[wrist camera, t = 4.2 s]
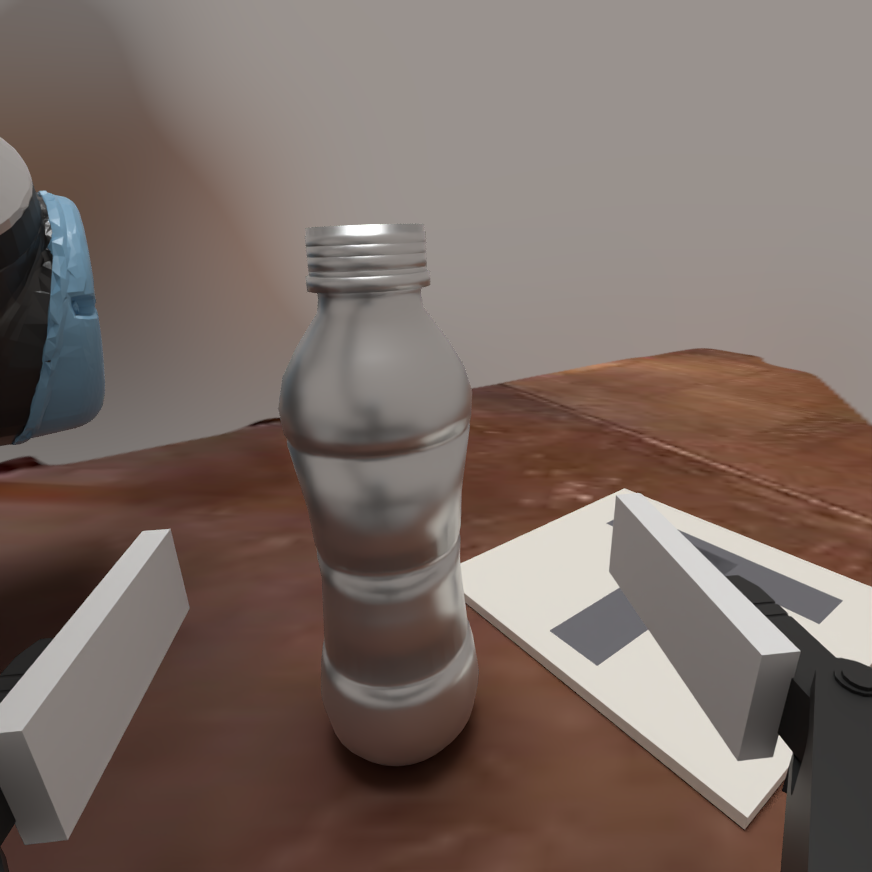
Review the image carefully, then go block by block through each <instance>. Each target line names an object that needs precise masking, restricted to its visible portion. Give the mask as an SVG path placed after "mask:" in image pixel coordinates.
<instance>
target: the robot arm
mask: <svg viewBox="0 0 872 872" xmlns="http://www.w3.org/2000/svg"><path fill="white" fill-rule="evenodd" d="M95 303H96V299H95V294H94V281H93V274H92V268H91V262H90V256H89V251H88V246H87V241H86V237H85V232H84V227H83V223H82V220H81V217H80V213H79V211H78V209H77V207H76V205H75V204H74V203H73V202H72V201H71V200H69V199H68V198H65V197H61V196H56V195H53V194H51V193H46V191H39V192H37V193H36V192H35V189H34V186H33V183H32V179H31V176H30V173H29V170H28V168H27V166H26V164H25V162H24V161H23V160H22V158H21V156H20V155H19V154H18V152H17V151H16V150H15V149H14V148H13V147H12V146H11V145H10V144H8V143H7V142H6V141H5V140H3V139H2V138H1V137H0V446H2V445H9V444H13V445H16V444H21V443H24V442H26V441H28V440H29V439H30V438H34V437H39V436H43V435H47V434H52V433H56V432H60V431H65V430H69V429H73V428H77V427H80V426H83V425H84V424H87V423H88V422H90V421H91V420H93V419H94V418H95V417H96V415H97V414H98V413H99V411H100V410H101V408H102V405H103V401H104V396H105V395H104V394H105V379H104V378H105V376H104V360H103V350H102V340H101V332H100V325H99V318H98V314H97V310H96V308H95ZM609 572H610V574H611V575H612V577H613V578H614V580H615V581H616V583H617V584H618V586H619V587H620V589H621V590H622V592H623V593H624V595H625V596H626V598H627V599H628V600H629V602H630V603H631V605H632V606H633V608H634V609H635V611H636V612H637V614H638V615H639V617H640V618H641V620H642V621H643V623H644V624H645V626H646V627H647V628H648V630H649V631H650V633H651V634H652V636H653V637H654V639H655V640H656V642H657V643H658V645H659V646H660V648H661V649H662V651H663V652H664V654H665V655H666V656H667V658H668V659H669V661H670V662H671V664H672V665H673V667H674V668H675V670H676V671H677V673H678V674H679V676H680V677H681V679H682V680H683V682H684V683H685V684H686V686H687V687H688V689H689V690H690V692H691V693H692V695H693V696H694V698H695V699H696V701H697V702H698V704H699V705H700V707H701V708H702V709H703V711H704V712H705V714H706V715H707V717H708V718H709V720H710V721H711V723H712V724H713V726H714V727H715V729H716V730H717V732H718V733H719V735H720V736H721V737H722V739H723V740H724V742H725V743H726V745H727V746H728V748H729V749H730V751H731V752H732V754H733V755H734V757H735V758H736V760H737V761H744V760H753V759H761V758H770V757H773V755H774V751H775V748H776V744H777V740H778V736H780V737H781V738H782V739H783V741H784V742H785V743H786V744H787V746H788V747H789V748H790V749H791V751H792V752H793V753H792V757H791V760H790V764H789V767H788V771H787V774H786V778H785V782H784V785H783V789H782V791H783V792H785V793H787V799H786V811H785V824H784V836H783V848H782V860H781V872H872V667H869V666H867V665H865V664H862V663H860V662H857V661H854V660H849V659H845V658H836V657H835V656H834V655H833V654H832V653H831V652H830V651H828V650H827V649H826V648H825V647H824V646H823V645H822V644H821V643H820V642H819V641H818V640H817V639H815V638H814V637H813V636H812V635H811V634H810V633H809V632H808V631H807V630H806V629H805V628H804V627H802V626H801V625H800V624H799V623H798V622H797V621H796V620H795V619H794V618H793V617H792V616H788V613H787V612H786V611H785V610H784V609H783V608H782V607H781V606H780V605H779V604H775V601H774V600H773V599H772V598H771V597H770V596H769V595H768V594H767V593H766V592H765V591H764V590H762V589H761V588H760V587H759V586H757V585H755V584H754V583H752V582H750V581H748V580H746V579H745V578H743V577H741V576H739V575H732V576H724V575H723V574H722V573H721V572H720V571H719V570H718V569H717V568H716V567H715V566H714V565H713V564H712V563H711V562H710V561H709V560H708V559H707V558H706V557H705V556H704V555H703V554H702V553H701V552H700V551H699V550H698V549H697V548H696V547H695V546H694V545H693V544H692V543H691V542H690V541H689V540H688V539H686V538H685V537H684V536H683V535H682V534H681V533H680V532H679V531H678V530H677V529H676V528H675V527H674V526H673V525H672V524H671V523H670V522H669V521H668V520H667V519H666V518H665V517H664V516H663V515H662V514H661V513H660V512H659V511H658V510H657V509H656V508H655V507H654V506H653V505H652V504H651V503H650V502H649V501H648V500H647V499H646V498H645V497H644V496H643V495H642V494H641V493H633V494H620V495H616V500H615V511H614V522H613V532H612V543H611V554H610V564H609ZM189 609H190V607H189V603H188V599H187V595H186V591H185V587H184V583H183V579H182V575H181V570H180V566H179V562H178V558H177V554H176V550H175V546H174V542H173V538H172V533H171V529H163V530H150V531H142V532H141V534H140V535H139V536H138V537H137V538H136V540H135V541H134V542H133V543H132V545H131V546H130V547H129V548H128V549H127V551H126V552H125V553H124V554H123V555H122V557H121V558H120V559H119V560H118V561H117V563H116V564H115V565H114V566H113V568H112V569H111V570H110V571H109V572H108V574H107V575H106V576H105V577H104V578H103V580H102V581H101V582H100V583H99V584H98V586H97V587H96V588H95V589H94V591H93V592H92V593H91V594H90V595H89V597H88V598H87V599H86V600H85V601H84V603H83V604H82V605H81V606H80V607H79V609H78V610H77V611H76V612H75V613H74V615H73V616H72V617H71V618H70V620H69V621H68V622H67V623H66V624H65V626H64V627H63V628H62V629H61V630H60V632H59V633H58V634H57V635H56V636H55V638H47V639H40V640H38V641H37V642H36V643H34V644H33V645H31V646H30V647H29V648H27V649H26V650H24V651H23V652H22V653H20V654H19V655H18V656H16V657H15V658H14V660H13V661H12V662H11V663H10V664H9V665H8V666H7V667H6V669H5V670H4V671H3V672H2V673H1V674H0V846H1V844H2V843H3V841H4V840H5V838H6V837H7V835H8V833H9V832H10V830H11V829H12V827H13V825H14V824H15V825H16V827H17V830H18V832H19V834H20V836H21V838H22V840H23V842H24V845H28V844H37V843H45V842H54V841H62V840H68V839H69V837H70V835H71V833H72V831H73V829H74V827H75V825H76V823H77V822H78V820H79V818H80V816H81V814H82V812H83V810H84V808H85V806H86V804H87V803H88V801H89V799H90V797H91V795H92V793H93V791H94V789H95V787H96V785H97V783H98V782H99V780H100V778H101V776H102V774H103V772H104V770H105V768H106V766H107V764H108V763H109V761H110V759H111V757H112V755H113V753H114V751H115V749H116V747H117V745H118V744H119V742H120V740H121V738H122V736H123V734H124V732H125V730H126V728H127V726H128V725H129V723H130V721H131V719H132V717H133V715H134V713H135V711H136V709H137V707H138V706H139V704H140V702H141V700H142V698H143V696H144V694H145V692H146V690H147V688H148V686H149V685H150V683H151V681H152V679H153V677H154V675H155V673H156V671H157V669H158V667H159V666H160V664H161V662H162V660H163V658H164V656H165V654H166V652H167V650H168V648H169V647H170V645H171V643H172V641H173V639H174V637H175V635H176V633H177V631H178V629H179V628H180V626H181V624H182V622H183V620H184V618H185V616H186V614H187V612H188V610H189ZM0 872H9V869H8V865H7V861H6V857H5V855H4V853H3V851H2V849H1V847H0Z"/></svg>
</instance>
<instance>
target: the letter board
mask: <svg viewBox="0 0 872 872" xmlns="http://www.w3.org/2000/svg"><path fill="white" fill-rule="evenodd" d="M633 493H635V492H632V491H630V490H627V489H625V488H624V489H622V490H620V491H618V492H616V493H614V494H611V495H609V496H607V497H605V498H603V499H600V500H598V501H596V502H594V503H592V504H590V505H587V506H585V507H583V508H581V509H579V510H576V511H574V512H572V513H570V514H568V515H566V516H563V517H561V518H559V519H557V520H555V521H552V522H550V523H548V524H546V525H544V526H542V527H539V528H537V529H535V530H533V531H531V532H528V533H526V534H524V535H522V536H520V537H518V538H515V539H513V540H511V541H509V542H507V543H504V544H502V545H500V546H498V547H496V548H494V549H491V550H489V551H487V552H485V553H483V554H480V555H478V556H476V557H474V558H472V559H470V560H467V561H465V562H463V563H461V564H460V566H461V574H462V582H463V590H464V598H465V603H467V604H468V605H469V606H470V607H472V608H473V609H474V610H475V611H476V612H478V613H479V614H480V615H481V616H483V617H484V618H485V619H486V620H488V621H489V622H490V623H491V624H492V625H494V626H495V627H496V628H497V629H499V630H500V631H501V632H502V633H503V634H505V635H506V636H507V637H508V638H510V639H511V640H512V641H513V642H515V643H516V644H517V645H518V646H519V647H521V648H522V649H523V650H524V651H526V652H527V653H528V654H529V655H531V656H532V657H533V658H534V659H535V660H537V661H538V662H539V663H540V664H542V665H543V666H544V667H545V668H546V669H548V670H549V671H550V672H551V673H553V674H554V675H555V676H556V677H558V678H559V679H560V680H561V681H562V682H564V683H565V684H566V685H567V686H569V687H570V688H571V689H572V690H574V691H575V692H576V693H577V694H578V695H580V696H581V697H582V698H583V699H585V700H586V701H587V702H588V703H589V704H591V705H592V706H593V707H594V708H596V709H597V710H598V711H599V712H601V713H602V714H603V715H604V716H605V717H607V718H608V719H609V720H610V721H612V722H613V723H614V724H615V725H617V726H618V727H619V728H620V729H621V730H623V731H624V732H625V733H626V734H628V735H629V736H630V737H631V738H632V739H634V740H635V741H636V742H637V743H639V744H640V745H641V746H642V747H644V748H645V749H646V750H647V751H648V752H650V753H651V754H652V755H653V756H655V757H656V758H657V759H658V760H660V761H661V762H662V763H663V764H664V765H666V766H667V767H668V768H669V769H671V770H672V771H673V772H674V773H676V774H677V775H678V776H679V777H680V778H682V779H683V780H684V781H685V782H687V783H688V784H689V785H690V786H691V787H693V788H694V789H695V790H696V791H698V792H699V793H700V794H701V795H703V796H704V797H705V798H706V799H707V800H709V801H710V802H711V803H712V804H714V805H715V806H716V807H717V808H719V809H720V810H721V811H722V812H723V813H725V814H726V815H727V816H728V817H730V818H731V819H732V820H733V821H734V822H736V823H737V824H738V825H739V826H741V827H742V828H743V829H744V830H745V829H746V827H747V826H748V825H749V824H750V822H751V821H752V820H753V818H754V817H755V816H756V815H757V813H758V812H759V811H760V810H761V808H762V807H763V806H764V805H765V803H766V802H767V801H768V800H769V798H770V797H771V796H772V795H773V793H774V792H775V791H776V789H777V788H778V787H779V786H780V784H781V783H782V782H783V781H784V779H785V778H786V774H787V771H788V767H789V764H790V760H791V757H792V753H793V752H792V751H791V749H790V748H789V747H788V746H787V744H786V743H785V742H784V741H783V739H782V738H781V737H780V736H778V740H777V744H776V748H775V751H774V755H773V757H770V758H761V759H753V760H744V761H737V760H736V758H735V757H734V755H733V754H732V752H731V751H730V749H729V748H728V746H727V745H726V743H725V742H724V740H723V739H722V737H721V736H720V735H719V733H718V732H717V730H716V729H715V727H714V726H713V724H712V723H711V721H710V720H709V718H708V717H707V715H706V714H705V712H704V711H703V709H702V708H701V707H700V705H699V704H698V702H697V701H696V699H695V698H694V696H693V695H692V693H691V692H690V690H689V689H688V687H687V686H686V684H685V683H684V682H683V680H682V679H681V677H680V676H679V674H678V673H677V671H676V670H675V668H674V667H673V665H672V664H671V662H670V661H669V659H668V658H667V656H666V655H665V654H664V652H663V651H662V649H661V648H660V646H659V645H658V643H657V642H656V640H655V639H654V637H653V636H652V634H651V633H650V631H649V630H648V628H647V627H646V626H645V624H644V623H643V621H642V620H641V618H640V617H639V615H638V614H637V612H636V611H635V609H634V608H633V606H632V605H631V603H630V602H629V600H628V599H627V598H626V596H625V595H624V593H623V592H622V590H621V589H620V587H619V586H618V584H617V583H616V581H615V580H614V578H613V577H612V575H611V574H610V572H609V564H610V554H611V543H612V532H613V522H614V511H615V500H616V495H620V494H633ZM644 497H645V496H644ZM645 498H646V499H647V500H648V501H649V502H650V503H651V504H652V505H653V506H654V507H655V508H656V509H657V510H658V511H659V512H660V513H661V514H662V515H663V516H664V517H665V518H666V519H667V520H668V521H669V522H670V523H671V524H672V525H673V526H674V527H675V528H676V529H677V530H678V531H679V532H680V533H681V534H682V535H683V536H684V537H685V538H686V539H688V540H689V541H690V542H691V543H692V544H693V545H694V546H695V547H696V548H697V549H698V550H699V551H700V552H701V553H702V554H703V555H704V556H705V557H706V558H707V559H708V560H709V561H710V562H711V563H712V564H713V565H714V566H715V567H716V568H717V569H718V570H719V571H720V572H721V573H722V574H723V575H724V576H732V575H739V576H741V577H743V578H745V579H746V580H748V581H750V582H752V583H754V584H755V585H757V586H759V587H760V588H761V589H762V590H764V591H765V592H766V593H767V594H768V595H769V596H770V597H771V598H772V599H773V600H774V601H775V604H779V605H780V606H781V607H782V608H783V609H784V610H785V611H786V612H787V613H788V616H792V617H793V618H794V619H795V620H796V621H797V622H798V623H799V624H800V625H801V626H802V627H804V628H805V629H806V630H807V631H808V632H809V633H810V634H811V635H812V636H813V637H814V638H815V639H817V640H818V641H819V642H820V643H821V644H822V645H823V646H824V647H825V648H826V649H827V650H828V651H830V652H831V653H832V654H833V655H834V656H835V657H836V658H845V659H849V660H854V661H857V662H860V663H862V664H865V665H867V666H869V667H872V587H870V586H867V585H865V584H862V583H860V582H857V581H855V580H852V579H850V578H847V577H845V576H842V575H840V574H837V573H835V572H832V571H830V570H827V569H825V568H822V567H820V566H817V565H815V564H812V563H810V562H807V561H805V560H802V559H800V558H797V557H795V556H792V555H790V554H787V553H785V552H782V551H780V550H777V549H775V548H772V547H770V546H767V545H765V544H762V543H760V542H757V541H755V540H752V539H750V538H747V537H745V536H742V535H740V534H737V533H735V532H732V531H730V530H727V529H725V528H722V527H720V526H717V525H715V524H712V523H710V522H707V521H705V520H702V519H700V518H697V517H695V516H692V515H690V514H687V513H685V512H682V511H680V510H677V509H675V508H672V507H670V506H667V505H665V504H662V503H660V502H657V501H655V500H652V499H650V498H647V497H645Z"/></svg>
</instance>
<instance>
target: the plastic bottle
mask: <svg viewBox="0 0 872 872" xmlns="http://www.w3.org/2000/svg"><path fill="white" fill-rule="evenodd" d="M305 230H306V236H305V242H306V252H307V261H308V271H309V275H308V276H306V285H307V291H308V292H312V293H317V294H318V308H317V314H316V316H315V317H314V319H313V320H312V322H311V324H310V325H309V327H308V329H307V330H306V332H305V334H304V335H303V337H302V339H301V340H300V342H299V344H298V346H297V347H296V349H295V351H294V354H293V356H292V358H291V360H290V362H289V364H288V366H287V369H286V371H285V373H284V375H283V378H282V385H281V391H280V398H279V407H278V410H279V415H280V419H281V423H282V428H283V432H284V435H285V437H286V438H287V445H288V448H289V451H290V454H291V458H292V461H293V464H294V467H295V470H296V473H297V477H298V480H299V483H300V486H301V489H302V492H303V496H304V499H305V502H306V505H307V508H308V513H309V518H310V523H311V527H312V532H313V537H314V542H315V546H316V548H317V556H318V562H319V567H320V572H321V576H322V595H323V617H324V643H323V650H322V658H321V695H322V701H323V704H324V707H325V710H326V713H327V715H328V717H329V720H330V722H331V725H332V727H333V730H334V732H335V734H336V736H337V737H338V738H339V740H340V741H341V743H342V744H343V745H344V746H345V747H346V748H348V749H349V750H350V751H351V752H352V753H354V754H356V755H358V756H360V757H362V758H364V759H366V760H368V761H371V762H373V763H377V764H381V765H385V766H405V765H412V764H415V763H418V762H422V761H424V760H426V759H428V758H430V757H432V756H434V755H436V754H437V753H439V752H440V751H441V750H442V749H444V748H445V747H446V746H448V745H449V744H450V743H451V742H452V741H453V740H454V739H455V738H456V737H457V736H458V735H459V734H460V732H461V731H462V730H463V728H464V727H465V725H466V723H467V722H468V720H469V718H470V715H471V712H472V709H473V706H474V700H475V695H476V690H477V685H478V676H479V668H478V662H477V656H476V651H475V645H474V639H473V634H472V631H471V628H470V624H469V621H468V619H467V614H466V606H465V598H464V590H463V582H462V574H461V566H460V534H459V532H460V527H461V494H462V483H463V475H464V467H465V459H466V451H467V443H468V435H469V427H470V425H469V422H470V419H471V404H472V390H471V386H470V383H469V380H468V377H467V374H466V370H465V367H464V365H463V363H462V361H461V359H460V358H459V356H458V354H457V353H456V351H455V350H454V348H453V346H452V345H451V343H450V342H449V340H448V338H447V337H446V335H445V334H444V333H443V331H442V330H441V329H440V328H439V326H438V325H437V324H436V322H435V321H434V320H433V318H432V317H431V316H430V314H429V313H428V312H427V311H426V309H425V308H424V307H423V303H422V297H421V288H422V287H426V286H429V285H430V271H429V270H427V265H426V232H425V231H424V224H377V225H349V226H329V227H312V228H306V229H305Z"/></svg>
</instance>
